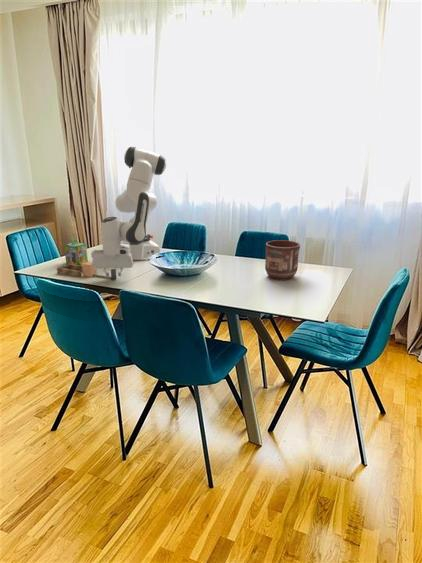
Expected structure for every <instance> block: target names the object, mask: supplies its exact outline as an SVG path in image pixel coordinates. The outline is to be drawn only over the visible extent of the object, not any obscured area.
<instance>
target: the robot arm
mask: <svg viewBox="0 0 422 563" xmlns="http://www.w3.org/2000/svg"><path fill="white" fill-rule="evenodd" d="M166 159H167V158H165V156H164V155H162V154H158V153H156V152H153V151H150V150H147V149H143V148H142V149H141V148H137V147H136V146H130V147H128V148H127V149H126V150H125V153H124V158H123V160H124V164H125V165H126V166H127V167H128V168H129V169H130V173H129V175H128V179H127V183H126V189H125V190H124V191H123V192H122V193H120V194H119V195H118V196H117V197H116V199H115V202H114V203H115V208H116V209H117V211H119V212H120V213H127V214H129V213H134V216H133V217H132V218H130V219H129V220H128V222H127V221H123V220H121V219H119V218H118V217H117V216H109V217H106V218H104V219H102V221H101V237H102V249H94V250H92V251H91V252H90V253H91V254H90V255H91V258H92V261H91V262H92V266H93V267H94V268H96V269H102V270H103V272H104V273H105V276H108V277H110V272H109V271H107V269H119V271H118V273H117V275H118V277H122V272H123V270H124V269H126V268H127V269H128V268H132V267H133V266H134V260H135V261H149V260H148V259H149V258H150V257H151V256H152V255H154V254H156V253H160V252H161V248H160V246H159V245H158V244H157V243H156V242H154V241H153V240H151V239H153V238H154V235H153V234H148V221H149V218H150V215H151V213H152V211H153V210H155V208H156V207H157V204H158V199H157V196H156V195H155V194H154V193H153V192H149V190H150V189H151V186H152V181H153V178H154V175H155V176H160V175H162V174H163V173H164V172H165V170H166V168H167V160H166ZM121 241H123V242H127V243H128V246H125V245H122V244H121Z"/></svg>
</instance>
